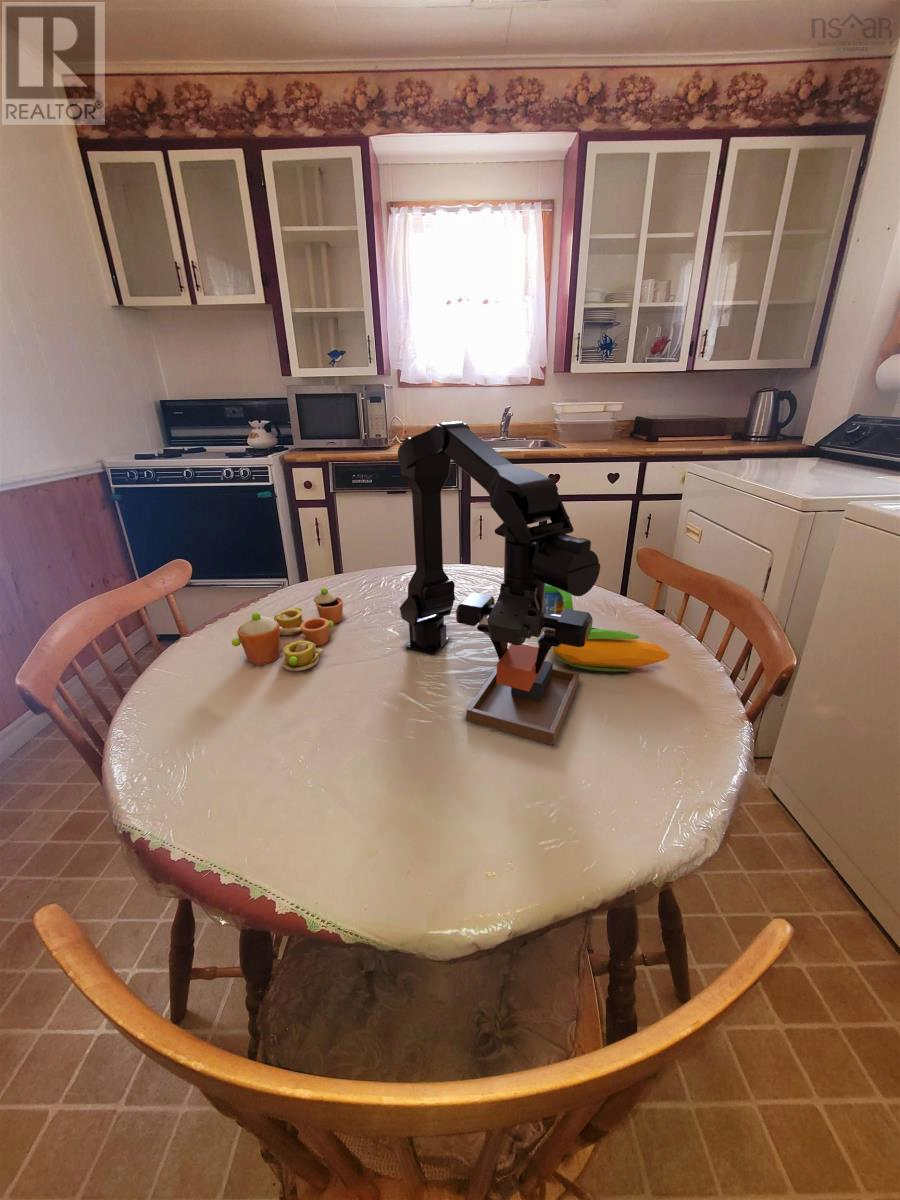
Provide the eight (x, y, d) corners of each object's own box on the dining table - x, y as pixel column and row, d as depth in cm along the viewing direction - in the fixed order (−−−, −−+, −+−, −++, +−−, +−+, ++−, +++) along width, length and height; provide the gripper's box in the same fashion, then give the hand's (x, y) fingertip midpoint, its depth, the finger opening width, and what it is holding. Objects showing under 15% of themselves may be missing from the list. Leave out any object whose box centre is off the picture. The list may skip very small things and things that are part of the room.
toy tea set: (311, 677, 87) (304, 630, 83) (230, 673, 88) (219, 626, 84) (354, 613, 110) (350, 574, 106) (290, 611, 112) (283, 572, 108)
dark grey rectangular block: (510, 694, 80) (511, 677, 78) (523, 672, 86) (524, 656, 84) (540, 701, 78) (541, 684, 76) (551, 679, 84) (552, 662, 82)
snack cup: (512, 607, 111) (513, 565, 107) (555, 602, 113) (558, 561, 109) (538, 639, 97) (541, 593, 93) (586, 633, 99) (591, 587, 95)
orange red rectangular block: (496, 683, 71) (496, 664, 70) (511, 660, 77) (512, 641, 76) (529, 691, 69) (530, 671, 68) (542, 667, 75) (543, 648, 74)
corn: (554, 617, 89) (668, 622, 86) (551, 651, 93) (660, 657, 90) (555, 639, 83) (678, 646, 80) (552, 674, 86) (670, 682, 83)
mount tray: (466, 720, 75) (466, 709, 74) (503, 666, 89) (504, 656, 88) (553, 745, 69) (554, 734, 69) (578, 683, 83) (579, 672, 82)
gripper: (437, 582, 63) (440, 682, 70) (581, 606, 56) (569, 715, 62) (471, 556, 73) (471, 646, 79) (598, 573, 65) (587, 671, 72)
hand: (520, 668), depth 73 cm, fingers closed on orange red rectangular block, 5 cm apart
